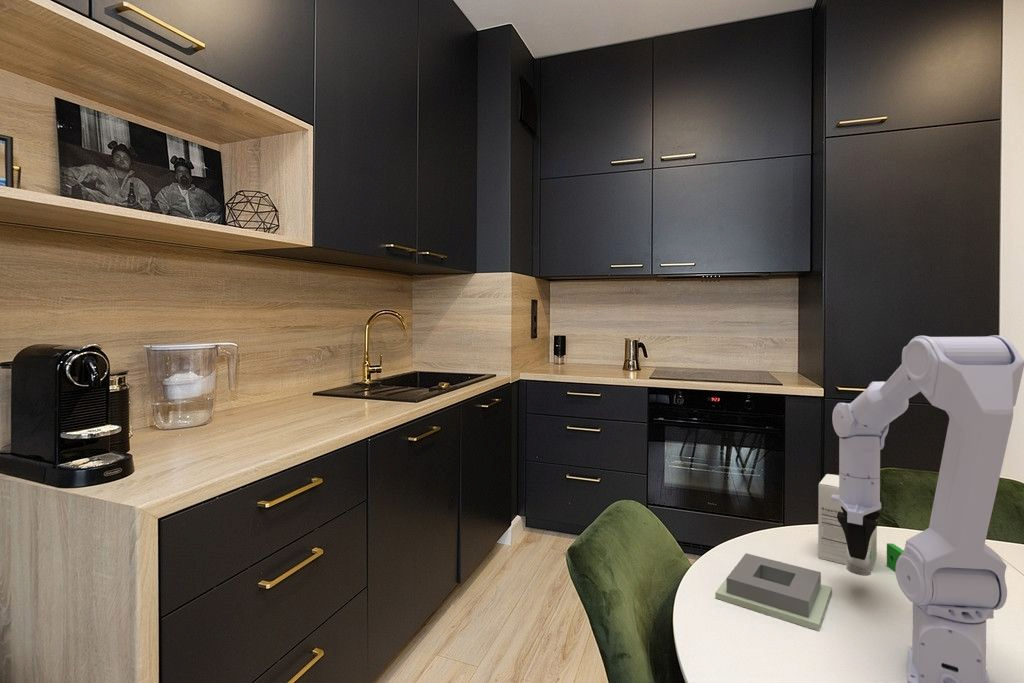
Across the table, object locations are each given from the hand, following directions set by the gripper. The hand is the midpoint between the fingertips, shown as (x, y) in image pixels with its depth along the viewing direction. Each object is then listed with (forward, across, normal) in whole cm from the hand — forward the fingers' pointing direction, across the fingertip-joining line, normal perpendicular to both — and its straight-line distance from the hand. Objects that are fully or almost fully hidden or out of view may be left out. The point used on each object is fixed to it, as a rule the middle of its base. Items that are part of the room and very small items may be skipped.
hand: (858, 553), depth 86 cm
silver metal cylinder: (+3, 0, 0) cm, 3 cm away
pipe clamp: (+7, -11, +8) cm, 15 cm away
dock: (+7, +10, -11) cm, 16 cm away
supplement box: (+7, -15, -3) cm, 17 cm away
